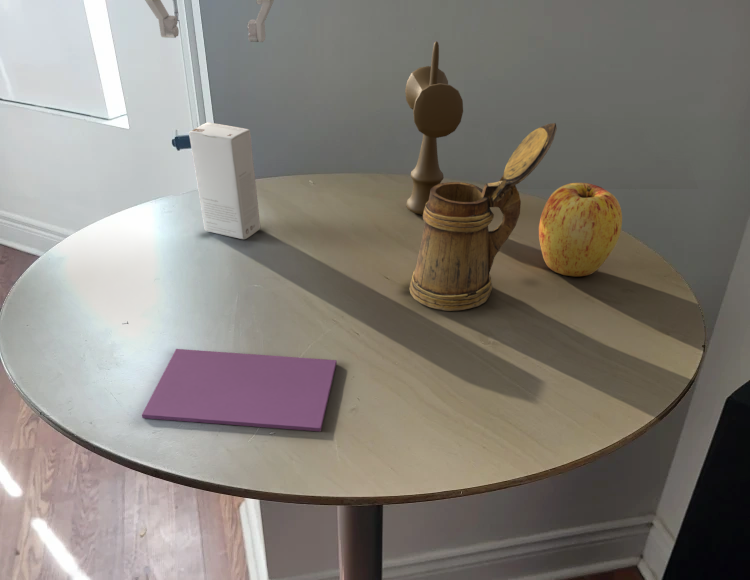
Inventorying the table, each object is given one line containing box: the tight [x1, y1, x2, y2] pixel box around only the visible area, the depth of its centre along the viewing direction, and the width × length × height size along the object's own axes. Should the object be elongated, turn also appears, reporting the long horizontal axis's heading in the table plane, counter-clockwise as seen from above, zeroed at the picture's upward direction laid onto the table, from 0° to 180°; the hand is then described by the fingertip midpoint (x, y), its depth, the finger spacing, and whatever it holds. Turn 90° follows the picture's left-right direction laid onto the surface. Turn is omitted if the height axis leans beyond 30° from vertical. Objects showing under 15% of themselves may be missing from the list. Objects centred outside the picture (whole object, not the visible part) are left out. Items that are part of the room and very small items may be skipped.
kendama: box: [404, 41, 464, 216], centre depth 97 cm, size 6×10×20 cm, turn 6°
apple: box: [538, 182, 623, 277], centre depth 89 cm, size 9×9×10 cm
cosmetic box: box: [188, 121, 261, 240], centre depth 94 cm, size 6×4×12 cm
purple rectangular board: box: [141, 348, 338, 432], centre depth 72 cm, size 16×11×1 cm
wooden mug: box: [409, 122, 558, 312], centre depth 81 cm, size 9×14×18 cm, turn 93°
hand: (213, 38), depth 83 cm, fingers open, 8 cm apart
